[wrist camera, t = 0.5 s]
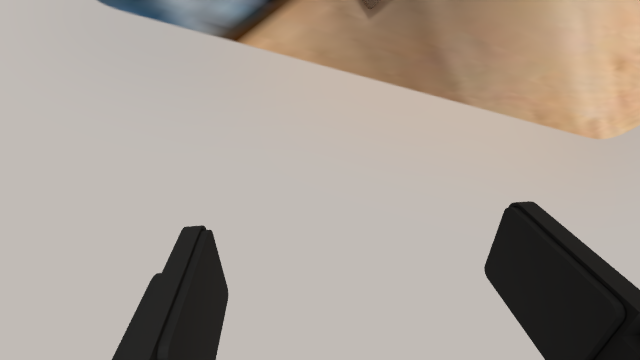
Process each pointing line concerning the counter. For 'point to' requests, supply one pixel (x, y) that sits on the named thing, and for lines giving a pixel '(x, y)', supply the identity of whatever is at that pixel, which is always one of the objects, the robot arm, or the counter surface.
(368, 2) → the game board
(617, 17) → the counter surface
